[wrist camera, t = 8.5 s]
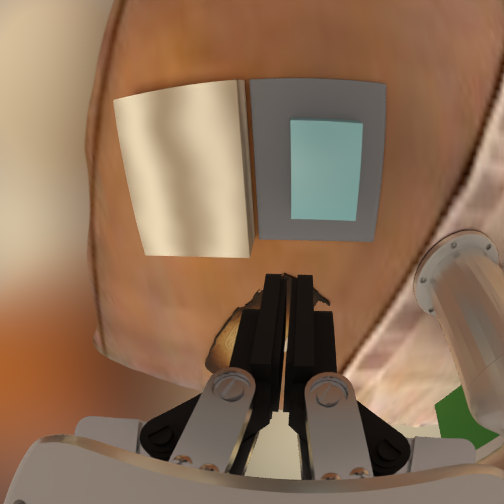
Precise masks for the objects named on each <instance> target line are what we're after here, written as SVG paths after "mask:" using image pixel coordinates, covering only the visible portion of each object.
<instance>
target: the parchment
mask: <svg viewBox="0 0 504 504" xmlns="http://www.w3.org/2000/svg"><path fill="white" fill-rule="evenodd" d="M284 274H285V273H284ZM281 278H287V307H286V337H285V349H284V352H285V351H286V350H287V341H288V328H289V314H290V298H291V281H292V279H293V278H291V277H289V276H287V275H283V274H282V276H281ZM259 290H260V289H259ZM262 294H263V290H262V291H261V292H260V293H259V292H258V291H257V293H256V294H255V296H256V297H255V296H254V297H253V299H252V301H251V303H248V304H247V305H246V304H245V305H246V306H244V307H241V308H239V307H238V308H237V310H236V311H235V312H234V313H233V315H232V317H231V319H230V320H229V321H228V322H227V323H226V324H225V326H224V327H223V328H222V330H221V331H220V333H219V335H218V336H217V337H216V338H215V340H214V344H213V346H212V348H211V350H210V353H209V355H208V358H207V359H206V362H205V366H206V368H207V369H208V370H209V371H210V372H211V373H213V374H214V373H215V372H217V371H219V370H221V369H224V368H229V364H230V360H231V356H232V352H233V348H234V344H235V340H236V335H237V331H238V327H239V323H240V319H241V315H242V311H243V309H244V308H248V309H260V306H261V300H262ZM318 301H320V302H321V301H322V302H323V303H326V304H327V305H329V306H330V304H329V303H328V301H326V300H325V299H323V298H322V297H320V295H319V294H318V292H316V291H315V290H314V289H313V303H314V306H315V305H316V303H317V302H318Z"/></svg>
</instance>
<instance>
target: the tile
mask: <svg viewBox="0 0 504 504" xmlns="http://www.w3.org/2000/svg"><path fill="white" fill-rule="evenodd" d="M290 127H291V219H315V220H345V221H356V212H357V202H358V192H359V180H360V168H361V152H362V132H363V123H361V122H359V121H357V120H343V119H325V118H291V119H290Z"/></svg>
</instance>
